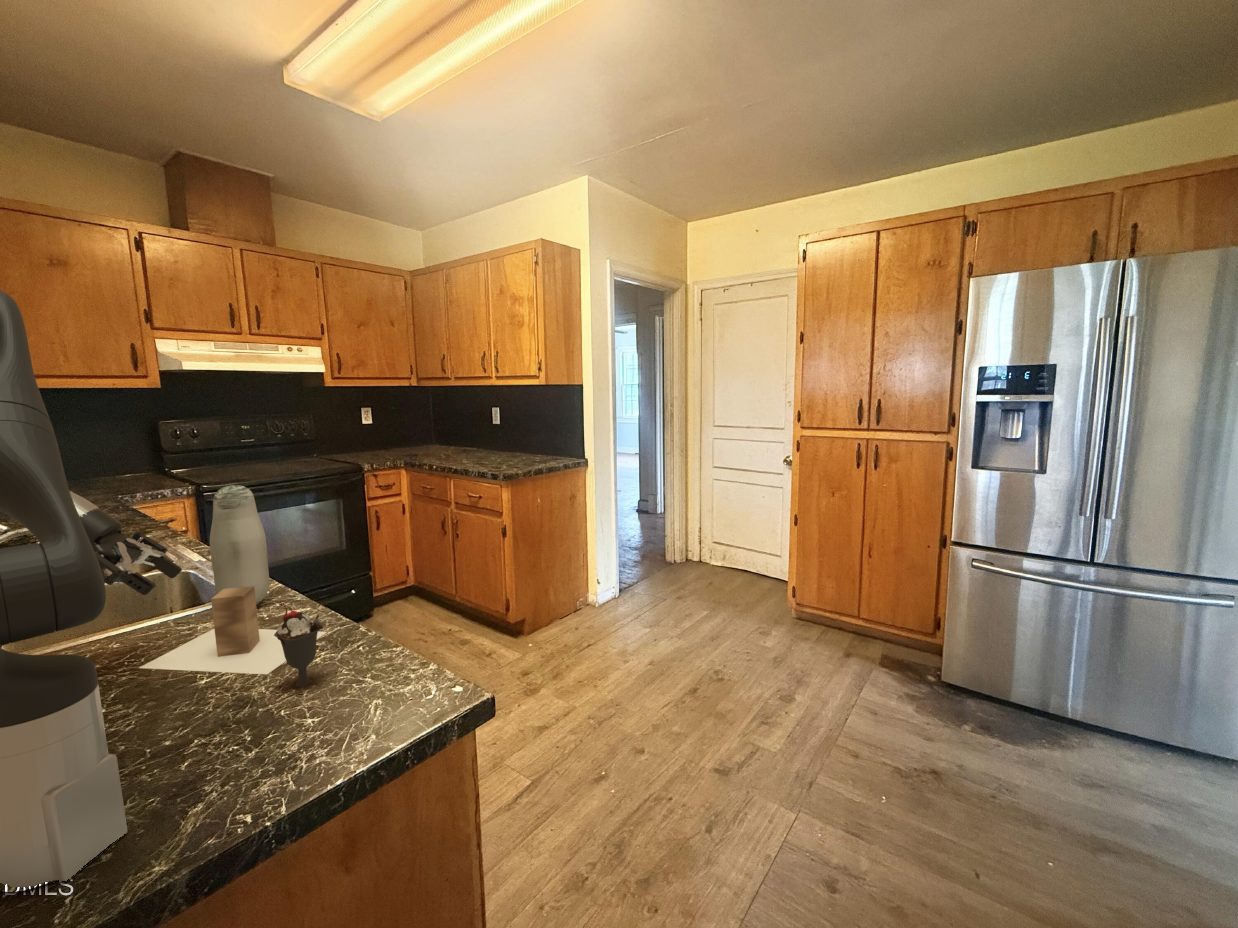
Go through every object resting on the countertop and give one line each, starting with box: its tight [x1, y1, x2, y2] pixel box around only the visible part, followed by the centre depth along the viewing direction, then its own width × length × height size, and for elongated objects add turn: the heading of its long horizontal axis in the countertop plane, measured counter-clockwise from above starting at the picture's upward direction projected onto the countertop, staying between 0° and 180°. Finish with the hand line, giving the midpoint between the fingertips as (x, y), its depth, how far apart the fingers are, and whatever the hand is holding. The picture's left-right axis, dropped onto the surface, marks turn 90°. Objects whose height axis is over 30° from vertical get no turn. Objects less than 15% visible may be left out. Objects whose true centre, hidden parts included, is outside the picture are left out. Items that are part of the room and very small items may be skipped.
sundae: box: [274, 602, 324, 697], centre depth 86 cm, size 7×7×15 cm
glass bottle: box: [209, 484, 270, 606], centre depth 118 cm, size 10×10×28 cm
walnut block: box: [210, 586, 260, 657], centre depth 98 cm, size 5×5×11 cm
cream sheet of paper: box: [138, 628, 328, 675], centre depth 98 cm, size 24×16×1 cm, turn 85°
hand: (165, 582), depth 94 cm, fingers open, 8 cm apart
